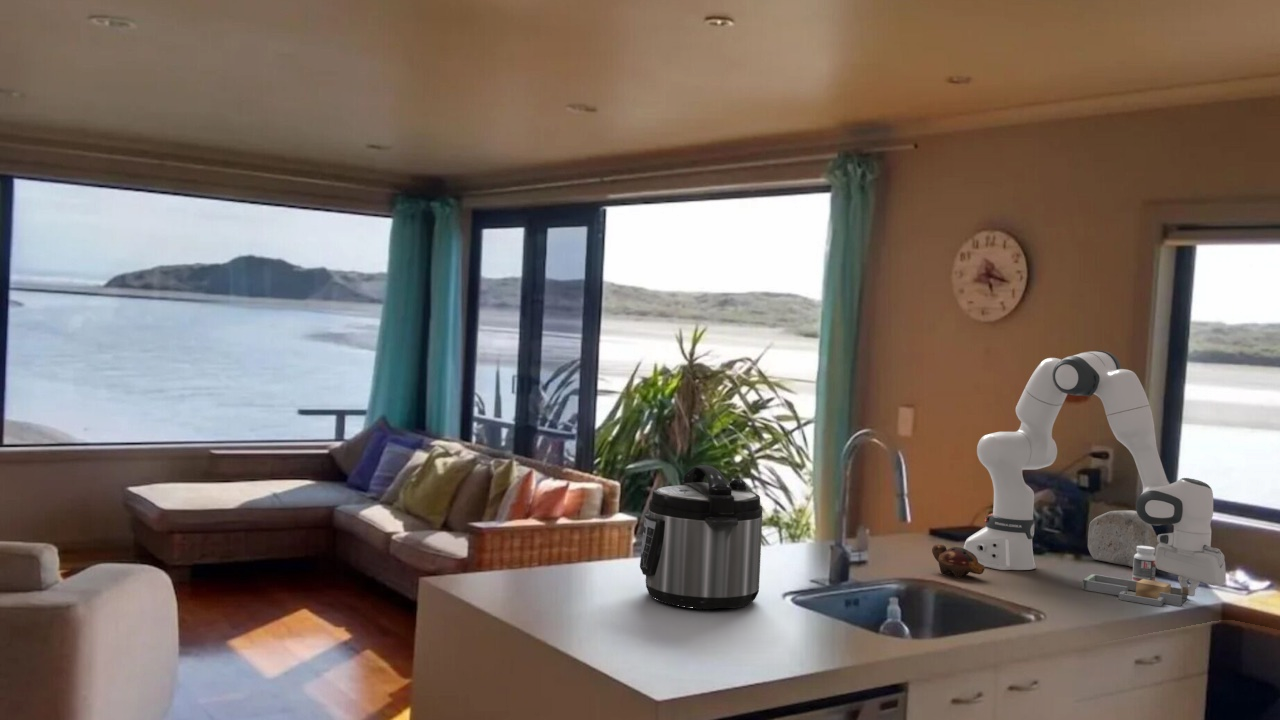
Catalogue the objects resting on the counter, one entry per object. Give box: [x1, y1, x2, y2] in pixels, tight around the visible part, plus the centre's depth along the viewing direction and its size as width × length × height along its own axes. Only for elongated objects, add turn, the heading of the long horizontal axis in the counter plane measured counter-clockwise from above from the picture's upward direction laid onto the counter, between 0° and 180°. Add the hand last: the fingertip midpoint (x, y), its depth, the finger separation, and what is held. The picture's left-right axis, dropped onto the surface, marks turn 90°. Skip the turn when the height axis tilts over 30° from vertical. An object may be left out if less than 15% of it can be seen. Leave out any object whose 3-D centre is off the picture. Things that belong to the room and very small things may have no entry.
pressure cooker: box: [639, 464, 763, 610], centre depth 269 cm, size 30×28×32 cm
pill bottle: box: [1131, 546, 1157, 581], centre depth 317 cm, size 6×6×10 cm
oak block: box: [1135, 579, 1172, 599], centre depth 299 cm, size 7×6×4 cm
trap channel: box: [1082, 573, 1189, 607], centre depth 299 cm, size 24×16×2 cm, turn 56°
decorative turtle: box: [931, 543, 986, 578], centre depth 313 cm, size 10×15×8 cm, turn 56°
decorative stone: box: [1087, 509, 1159, 568], centre depth 342 cm, size 17×20×10 cm
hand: (1187, 594), depth 294 cm, fingers closed
